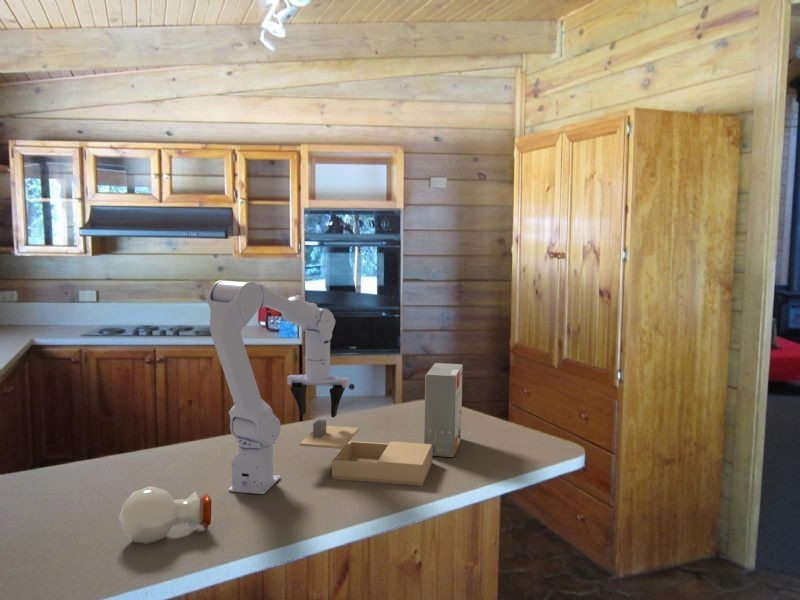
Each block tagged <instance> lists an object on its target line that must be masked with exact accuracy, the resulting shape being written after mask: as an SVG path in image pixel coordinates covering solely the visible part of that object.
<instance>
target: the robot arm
mask: <svg viewBox="0 0 800 600" xmlns="http://www.w3.org/2000/svg"><path fill="white" fill-rule="evenodd" d="M206 301H207V304H208V307H209V310H210V317H209V318H210V319H209V331H210V335H211V337H212V338H211V339H212V341H213V345H214V347H215V349H216V350H215V351H216V353H217V356H218V359H219V362H220V365H221V368H222V370H223V374H224V377H225V379H226V383H227V386H228V389H229V392H230V395H231V398H232V400H233V406H232V407H231V409H230V410H229V411H228V415H229V419H230V422H229V429H230V432H231V434H232V436H233V437H235V443H237V444H238V445H237V446H238V447H237V448H238V449H237V452H236V454H235V455H234V457H233V459H232V460H231V461H232V462H231V479H232V481H231V483H232V485H231V486H230V487H229V488H228V492H234V493H245V494H246V493H247V494H257V495H258V494H259V495H265V494H266V492H268V490H270V489H271V488H272V487H273V486H274V485H275V484H276V483H277V482H278V481H279V480H280V479H281V475H277V474H276V475H275V474H274V445H275V444H276V441H277V440H278V438H279V436H280V434H281V426H282V425H281V421H280V419H279V417H278V416H276V415H275V414H274V411H273V409H272V407H271V406H270V404H268V403H267V402H266V401H264V399H262V397H261V394H260V390H259V388H258V384H257V381H256V378H255V375H254V371H253V369H252V365H251V362H250V358H249V356H248V352H247V349H246V346H245V342H244V340H243V336H242V333H241V332H242V330H243V328H245V327H246V326H247V325H248V324H249V323H250V322H251V320H252V318H254V316H255V315H256V314H257V312H258V311H259V310H260V308H265V307H266V308H267V309H271V310H273V311H277V312H278V313H279V312H280V313H281V317H282V318H283V320H284V321H286V322H289V323H291V324H294V325H295V326H298V327H300V329H301V330H302V331H304V332H305V333H304V334H305V335H304V337H305V338H304V339H305V340H304V341H305V342H304V343H305V344H304V345H305V352H304V353H305V374H290V375H288V376H287V378H286V379H287V380H286V381H287V385H291V387H290V392H291V394H292V395H293V397H294V399H295V402H296V404H297V407H298V410H299V415H300V416H304V415H305V414H306V413H307V404H306V403H307V401H306V400H307V399H306V398H307V389H308V388H307V387H308V386H322V387H323V386H327V387H330V389H329V395H330V417H331V418H336V417H337V415H338V408H339V405H340V401H341V399H342V397H343V394H344V391H345V389H346V388H348V387H349V386H350V378H349V377H344V376H337V375H331V340H332V338H333V330H334V328H335V325H336V318H335V317H334V314H333V312H331V310H330V309H328V308H322V307H319V306H318V304H317V303H315V302H308V301H306V300H305V297H304V296H302V295H295V296H290V297H288V298H287V297H285V296H283V295H281V294H279V293H277V292H276V291H274V290H272V289H270V288H269V287H267V286H265V285H263V284H261V283H257V282H254V281H233V280H227V279H220V280H217V281H215V283H213V285H212V287H211V288H210V290H209V292H208V295H207V297H206Z"/></svg>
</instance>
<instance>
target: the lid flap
mask: <svg viewBox="0 0 800 600" xmlns="http://www.w3.org/2000/svg"><path fill="white" fill-rule="evenodd" d="M359 431H360V428H359V427H350V426H338V425H337V426H335V425H327V419H323V418H318V419H317V420H316V421H315V422H313V424H312V431H311V433H309V434H308V435H307V436H306V437H305V438H304V439H302V441H300V443H299V447H306V448H307V447H308V448H321V449H324V448H325V449H335V450H336V449H337V450H338V449H339V450H342V449H343V448H344V447H345V446H346V445H347V443H348V442H349V441H352V439H353V438H354V436H355V435H356V434H357V433H358V432H359Z"/></svg>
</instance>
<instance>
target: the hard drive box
mask: <svg viewBox="0 0 800 600" xmlns="http://www.w3.org/2000/svg"><path fill="white" fill-rule="evenodd" d="M463 368H464V365H463V363H462V364H460V363H441V362H435V363H434V364H433V365H432V366H431V368H429V370H428V372H426V374H425V376H424V380H425V381H424V414H423V415H424V417H423V418H424V419H423V420H424V421H423V444H432V457H445V458H455V455H456V453H457V449H458V448H459V445H460V443H461V439H462V415H463V413H462V411H463V410H462V409H463V407H462V404H463V403H462V402H463V370H464V369H463Z"/></svg>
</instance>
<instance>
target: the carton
mask: <svg viewBox="0 0 800 600" xmlns="http://www.w3.org/2000/svg"><path fill="white" fill-rule="evenodd" d="M432 464H433V456H432V444H424V443H421V442H420V443H419V442H417V443H416V442H404V441H390V442H388V443H387V442H373V441H372V442H371V441H361V440H360V441H355V440H350V441H349V442H348V443H347V445H346V446H345V447H344V448H343V449H340V451H339V452H338V453H337V454H336V456H335V457H334V458H333V459H332V461H331V478H334V479H333V480H342V479H343V480H345V481H354V482H355V481H357V482H367V481H368V482H370V483H380V484H381V483H382V484H394V485H404V484H407V485H406V486H418V487H423V486H424V483H425V481H426V479H427V476H428V474H429V471H430V469H431V467H432ZM368 482H367V483H368Z"/></svg>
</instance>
